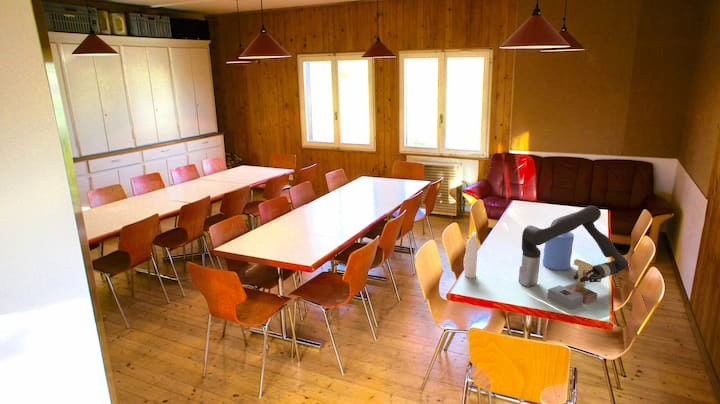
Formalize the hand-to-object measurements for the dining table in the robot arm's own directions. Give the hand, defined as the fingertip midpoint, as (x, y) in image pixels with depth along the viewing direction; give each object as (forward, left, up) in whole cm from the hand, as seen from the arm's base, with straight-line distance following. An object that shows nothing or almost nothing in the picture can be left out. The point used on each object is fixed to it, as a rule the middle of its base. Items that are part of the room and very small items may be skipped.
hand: (577, 278), depth 246 cm
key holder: (0, -9, -12) cm, 14 cm away
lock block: (0, +3, -12) cm, 12 cm away
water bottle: (-50, -27, -12) cm, 58 cm away
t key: (0, +3, -10) cm, 10 cm away
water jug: (-34, +27, -12) cm, 45 cm away
